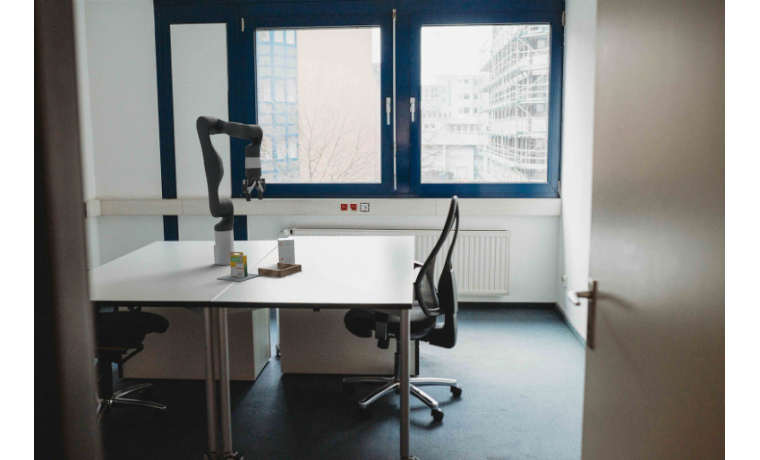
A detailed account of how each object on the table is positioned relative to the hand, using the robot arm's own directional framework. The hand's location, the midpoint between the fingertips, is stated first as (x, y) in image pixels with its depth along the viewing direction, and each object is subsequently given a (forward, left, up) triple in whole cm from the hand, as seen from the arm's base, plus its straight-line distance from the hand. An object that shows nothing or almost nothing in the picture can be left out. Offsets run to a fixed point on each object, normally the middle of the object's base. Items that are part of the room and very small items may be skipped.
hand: (254, 200), depth 286 cm
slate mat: (+6, -20, -33) cm, 39 cm away
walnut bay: (+16, -4, -33) cm, 37 cm away
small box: (+7, +14, -34) cm, 37 cm away
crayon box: (+6, -20, -33) cm, 39 cm away
